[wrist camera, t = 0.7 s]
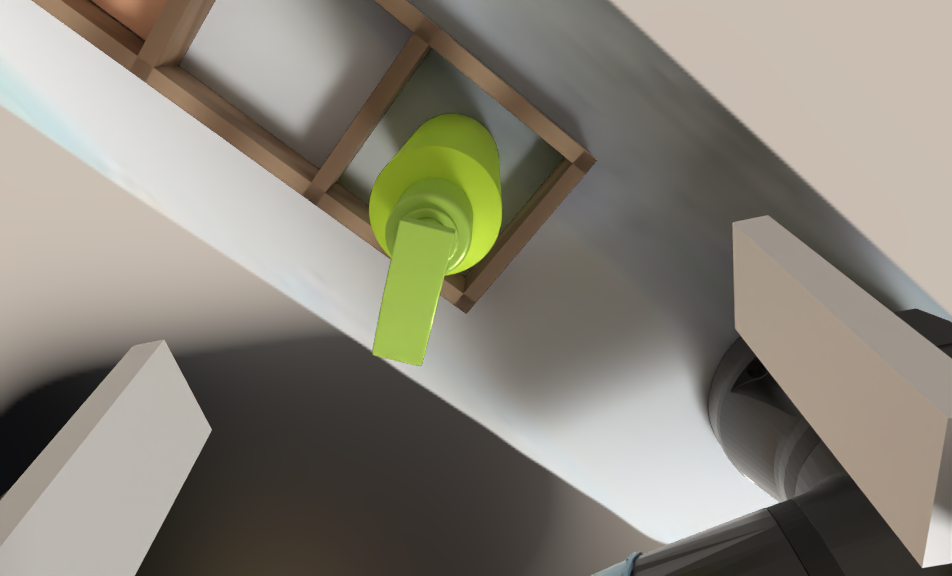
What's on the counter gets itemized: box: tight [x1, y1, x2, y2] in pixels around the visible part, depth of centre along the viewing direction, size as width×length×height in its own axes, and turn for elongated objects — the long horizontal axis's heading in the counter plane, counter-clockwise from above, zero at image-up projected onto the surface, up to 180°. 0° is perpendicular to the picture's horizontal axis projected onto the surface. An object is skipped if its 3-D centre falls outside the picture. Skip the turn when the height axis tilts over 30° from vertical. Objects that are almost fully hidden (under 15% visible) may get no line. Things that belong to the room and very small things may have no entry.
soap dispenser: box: [369, 114, 502, 366], centre depth 30 cm, size 6×7×20 cm
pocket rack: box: [32, 0, 597, 314], centre depth 36 cm, size 36×12×3 cm, turn 52°
